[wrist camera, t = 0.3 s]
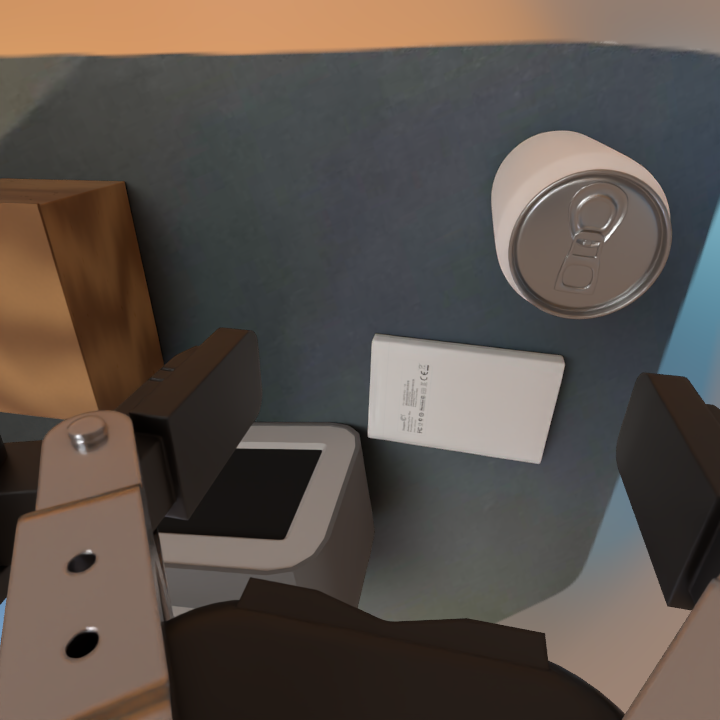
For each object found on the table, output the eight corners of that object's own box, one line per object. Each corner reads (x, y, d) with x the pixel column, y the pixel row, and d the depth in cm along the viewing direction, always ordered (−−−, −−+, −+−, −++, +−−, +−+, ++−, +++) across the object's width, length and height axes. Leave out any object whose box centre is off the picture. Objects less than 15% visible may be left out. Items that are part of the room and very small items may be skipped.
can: (627, 135, 27) (717, 167, 17) (591, 253, 31) (648, 341, 20) (503, 123, 28) (517, 146, 18) (481, 239, 31) (481, 316, 21)
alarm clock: (367, 422, 40) (310, 597, 26) (384, 531, 45) (343, 725, 31) (179, 421, 43) (44, 574, 30) (214, 522, 48) (112, 690, 35)
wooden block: (-29, 176, 37) (-148, 197, 30) (125, 179, 34) (36, 203, 27) (33, 354, 43) (-52, 405, 36) (166, 366, 41) (102, 424, 34)
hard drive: (537, 452, 38) (370, 427, 40) (562, 352, 34) (375, 331, 36) (540, 466, 36) (366, 440, 38) (565, 364, 32) (371, 341, 34)
